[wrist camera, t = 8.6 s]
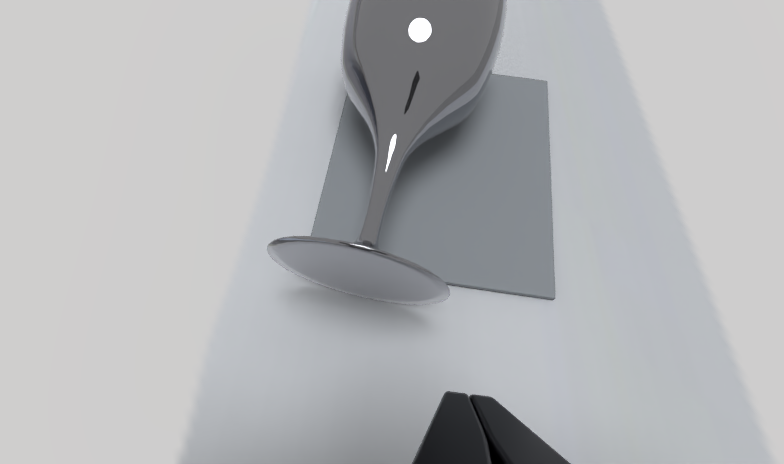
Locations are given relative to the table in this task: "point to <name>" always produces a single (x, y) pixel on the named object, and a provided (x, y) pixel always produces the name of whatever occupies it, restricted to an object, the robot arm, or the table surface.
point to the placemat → (459, 193)
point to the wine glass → (400, 126)
